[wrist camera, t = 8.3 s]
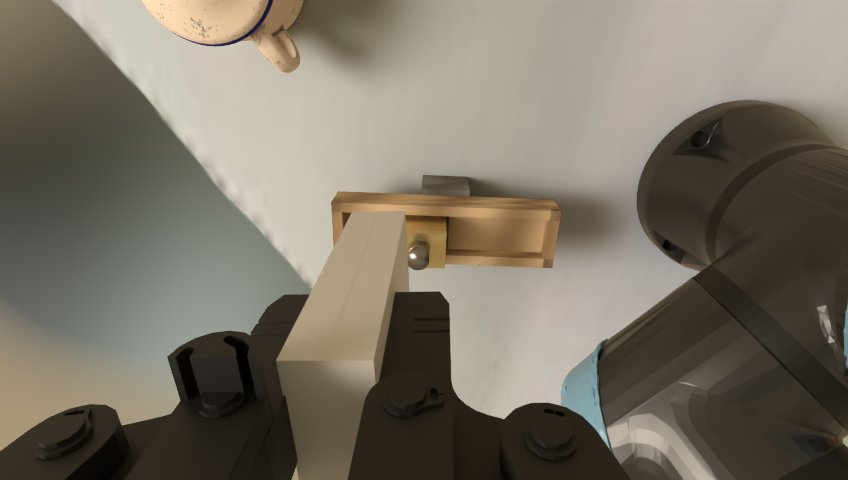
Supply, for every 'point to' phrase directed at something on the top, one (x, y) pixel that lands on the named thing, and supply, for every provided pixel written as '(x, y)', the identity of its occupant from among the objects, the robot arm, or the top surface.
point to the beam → (469, 221)
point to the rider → (426, 241)
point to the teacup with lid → (234, 24)
